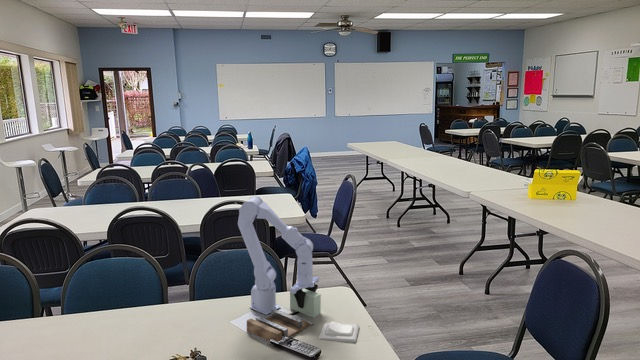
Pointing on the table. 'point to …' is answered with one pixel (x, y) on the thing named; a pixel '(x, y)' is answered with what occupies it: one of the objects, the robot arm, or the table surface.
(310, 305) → the pale green foam block
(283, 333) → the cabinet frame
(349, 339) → the light switch
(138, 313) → the table surface
